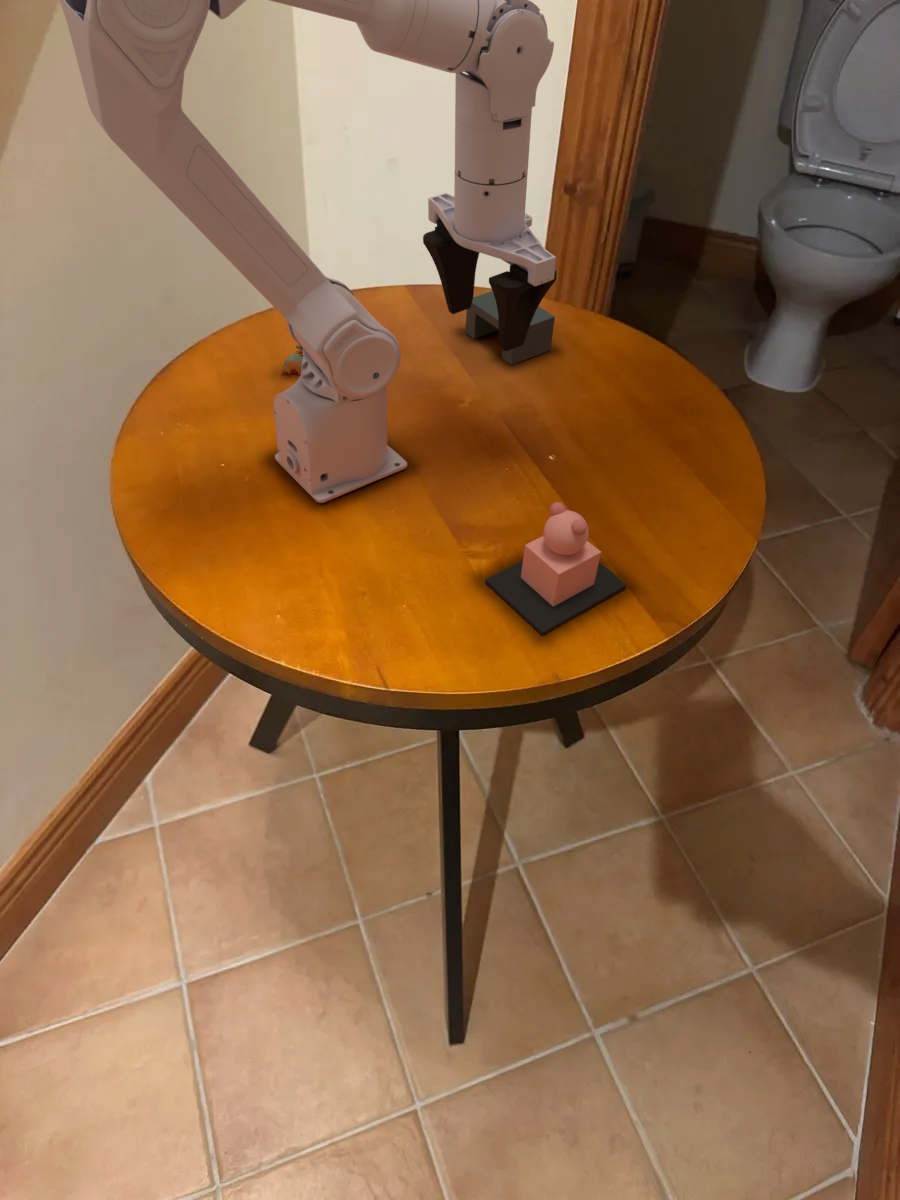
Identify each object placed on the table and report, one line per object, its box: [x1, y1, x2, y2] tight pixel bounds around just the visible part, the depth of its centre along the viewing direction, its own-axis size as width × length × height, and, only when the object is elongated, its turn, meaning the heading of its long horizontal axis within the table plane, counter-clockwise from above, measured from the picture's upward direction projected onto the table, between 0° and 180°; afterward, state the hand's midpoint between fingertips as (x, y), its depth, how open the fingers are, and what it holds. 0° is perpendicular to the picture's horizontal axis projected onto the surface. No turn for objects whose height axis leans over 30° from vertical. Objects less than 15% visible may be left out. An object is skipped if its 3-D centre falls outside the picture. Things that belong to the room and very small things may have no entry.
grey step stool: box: [464, 290, 556, 366], centre depth 98 cm, size 6×8×4 cm
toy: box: [521, 501, 602, 607], centre depth 70 cm, size 4×4×7 cm
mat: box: [484, 559, 628, 636], centre depth 73 cm, size 9×7×1 cm
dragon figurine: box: [280, 343, 303, 376], centre depth 92 cm, size 6×7×8 cm
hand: (485, 327), depth 80 cm, fingers open, 7 cm apart
